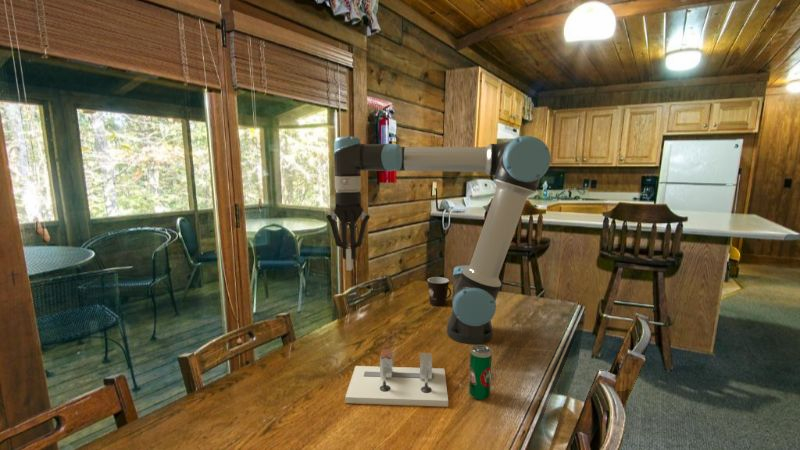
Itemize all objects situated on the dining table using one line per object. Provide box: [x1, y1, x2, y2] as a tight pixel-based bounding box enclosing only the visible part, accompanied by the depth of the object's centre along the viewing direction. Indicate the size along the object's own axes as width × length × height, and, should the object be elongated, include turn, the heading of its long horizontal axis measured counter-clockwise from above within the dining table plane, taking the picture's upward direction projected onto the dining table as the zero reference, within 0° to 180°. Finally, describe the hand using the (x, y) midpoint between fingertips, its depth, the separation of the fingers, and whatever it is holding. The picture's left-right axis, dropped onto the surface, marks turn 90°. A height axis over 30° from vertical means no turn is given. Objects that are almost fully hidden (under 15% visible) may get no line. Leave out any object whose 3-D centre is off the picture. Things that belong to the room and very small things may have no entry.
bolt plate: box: [344, 365, 449, 408], centre depth 93 cm, size 24×14×2 cm, turn 87°
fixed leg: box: [419, 352, 433, 389], centre depth 93 cm, size 3×8×6 cm, turn 177°
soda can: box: [468, 344, 493, 401], centre depth 89 cm, size 5×5×12 cm
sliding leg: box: [379, 348, 394, 387], centre depth 93 cm, size 3×8×6 cm, turn 177°
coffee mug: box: [427, 276, 452, 308], centre depth 149 cm, size 12×9×10 cm
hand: (349, 269), depth 112 cm, fingers closed
